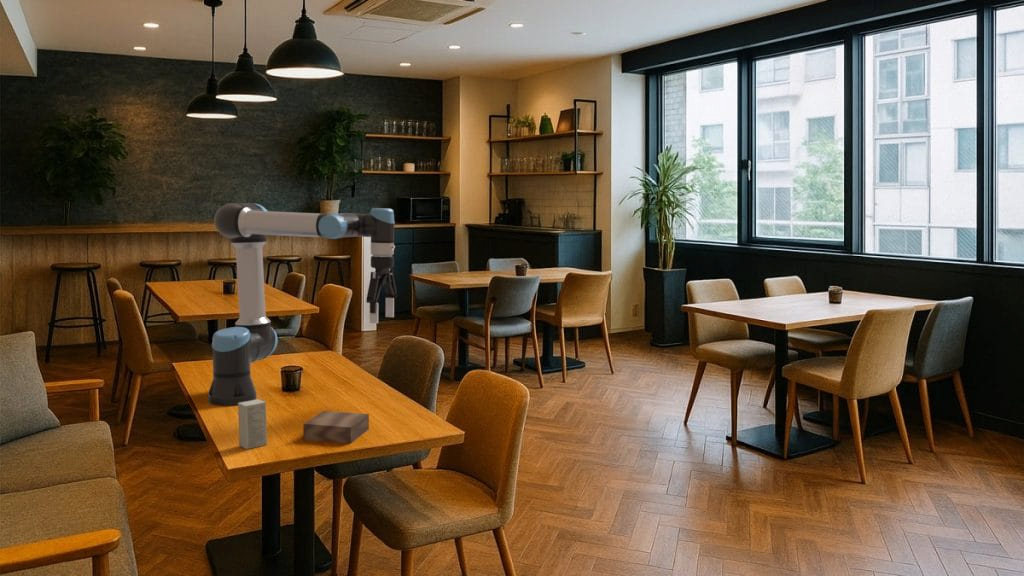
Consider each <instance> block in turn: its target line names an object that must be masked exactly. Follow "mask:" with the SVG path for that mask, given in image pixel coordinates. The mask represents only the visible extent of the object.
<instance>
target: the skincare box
mask: <svg viewBox="0 0 1024 576" xmlns="http://www.w3.org/2000/svg"><path fill="white" fill-rule="evenodd" d="M237 407H238V409H237V411H238V412H237V413H238V416H237V417H238V438H239V439H238V443H239V444H238V445H239V446H240V447H241V448H243V449H245V450H249V449H254V448H258V447H262V446H266V445H267V444H268V439H267V437H268V436H267V435H268V434H267V402H266V401H264V400H262V399H259V398H256V399H255V400H250V401H245V402H240V403H238V405H237Z"/></svg>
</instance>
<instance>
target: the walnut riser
mask: <svg viewBox="0 0 1024 576" xmlns="http://www.w3.org/2000/svg"><path fill="white" fill-rule="evenodd" d="M369 415H370V414H369V413H361V412H360V413H359V412H348V411H347V412H345V411H332V410H331V411H330V410H323V411H321V412H320V413H318V414H316V415H315V416H313V417H311V418H310V419H309V420H307V421H305V422H304V423H303V424H302V425H303V426H302V427H303V429H302V430H303V432H302V433H303V435H302V436H303V440H304V441H311V442H325V443H327V442H328V443H339V444H352V443H354V442H355V441H356V440H358V439H359V438H360V437H361V436H363V435H364V434H365V433H366V432H367V431H369V429H370V417H369Z"/></svg>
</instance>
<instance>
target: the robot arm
mask: <svg viewBox="0 0 1024 576" xmlns="http://www.w3.org/2000/svg"><path fill="white" fill-rule="evenodd" d="M214 214H215V215H214V218H213V219H214V220H213V223H214V227H215V230H216V231H217V233H219V234H220V235H221V236H223V237H225V238H228V239H230V244H231V245H232V246H233V247H234V248H235V253H236V254H235V255H236V257H235V258H236V259H235V260H236V273H237V275H236V277H237V293H238V294H237V295H238V309H239V311H238V313H239V318H238V320H236V322H235V323H234V325H235V326H233V327H232V326H231V327H227V328H226V327H225V328H222V329H219V330H217V331H215V332H214V333H213V335H212V343H211V347H212V349H211V350H212V373H213V374H212V382H211V384H210V387H209V390H208V394H207V402H208V403H209V404H212V405H218V406H238V403H240V402H245V401H250V400H255V399H257V390H256V386H255V385H254V382H253V380H252V376H251V363H255V362H257V361H262V360H264V359H266V358H267V357H269V356H271V355H273V353H274V352H275V350H276V349H277V347H278V346H277V345H278V341H279V339H278V334H277V332H276V330H274V328H273V327H272V326H271V325H272V324H271V322H272V321H271V320H270V319H269V318H268V317H267V315H266V299H265V297H266V296H265V295H266V294H265V277H264V276H265V273H264V258H263V257H264V256H263V255H264V254H263V247H264V246H265V245H266V244H267V236H284V237H285V236H287V237H303V238H304V237H305V238H306V237H308V238H309V237H311V238H324V239H325V238H326V239H331V240H337V239H342V238H351V237H356V238H358V237H361V238H362V237H365V238H370V255H371V256H370V267H371V269H375V270H374V271H370V277H369V278H370V280H369V284H368V290H367V294H366V303H369V323H370V324H379V302H378V300H379V297H380V294H381V290H382V287H383V289H384V293H385V295H386V297H385V318H395V298H398V293H397V287H396V282H395V281H396V280H395V276H394V269H393V268H394V267H395V257H394V256H393V255H394V254H395V251H394V250H395V248H396V246H395V223H396V222H395V214H394V209H392V208H389V207H388V208H386V207H385V208H382V207H381V208H379V207H375V208H374V207H373V208H371V209H370V213H355V212H354V213H351V212H343V213H319V212H318V213H314V212H292V211H289V212H288V211H269V210H268V209H266V207H264V206H263V205H262V204H259V203H253V202H244V203H243V202H242V203H241V202H237V203H236V202H232V203H226V204H224V205H222V206H220V207H219V208H218V209H217V210H216V213H214Z"/></svg>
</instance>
